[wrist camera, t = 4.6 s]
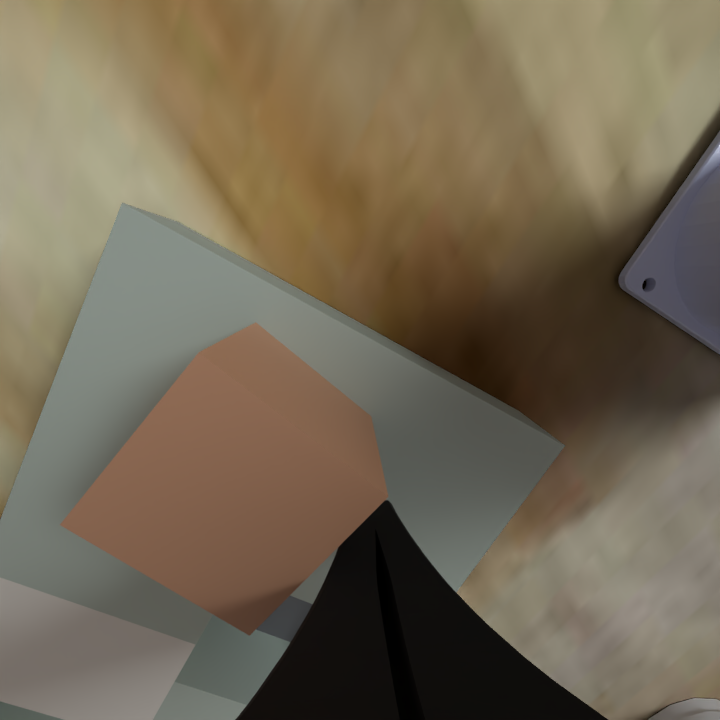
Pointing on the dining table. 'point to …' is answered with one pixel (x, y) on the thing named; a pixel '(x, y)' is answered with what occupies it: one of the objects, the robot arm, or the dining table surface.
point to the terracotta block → (237, 480)
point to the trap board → (130, 408)
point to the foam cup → (691, 710)
